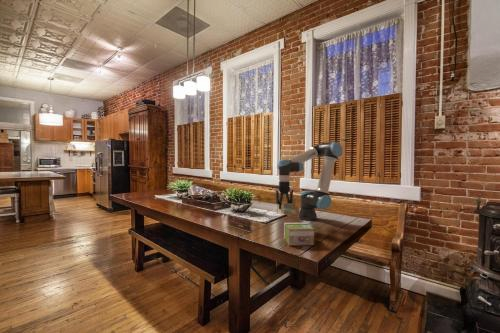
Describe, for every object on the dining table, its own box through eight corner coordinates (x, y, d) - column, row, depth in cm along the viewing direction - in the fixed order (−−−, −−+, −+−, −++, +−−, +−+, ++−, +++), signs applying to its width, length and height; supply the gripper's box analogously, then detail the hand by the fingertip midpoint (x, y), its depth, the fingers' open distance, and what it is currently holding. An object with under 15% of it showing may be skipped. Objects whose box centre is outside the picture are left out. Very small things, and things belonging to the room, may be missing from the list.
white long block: (274, 213, 189) (273, 204, 191) (284, 213, 191) (283, 203, 192) (284, 214, 167) (283, 203, 168) (295, 213, 168) (294, 203, 169)
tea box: (306, 221, 158) (315, 229, 144) (306, 237, 159) (314, 246, 144) (283, 222, 157) (289, 229, 142) (283, 237, 158) (289, 246, 143)
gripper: (274, 181, 172) (274, 215, 173) (297, 181, 176) (297, 213, 177) (271, 180, 179) (271, 213, 180) (293, 180, 183) (293, 211, 184)
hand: (284, 213), depth 179 cm, fingers closed on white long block, 4 cm apart
